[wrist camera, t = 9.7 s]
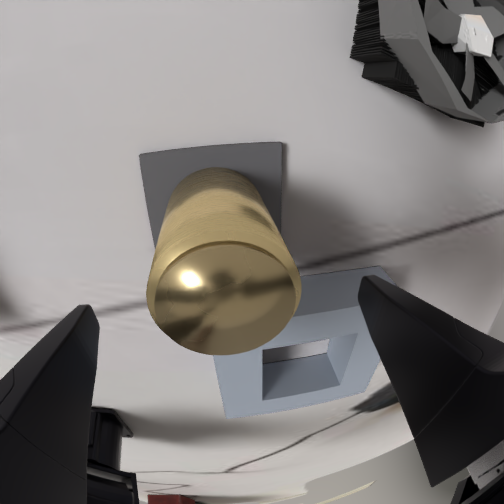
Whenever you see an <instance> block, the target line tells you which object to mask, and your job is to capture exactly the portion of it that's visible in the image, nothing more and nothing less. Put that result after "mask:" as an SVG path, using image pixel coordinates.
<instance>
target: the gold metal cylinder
mask: <svg viewBox="0 0 504 504" xmlns="http://www.w3.org/2000/svg"><path fill="white" fill-rule="evenodd" d="M146 297H147V304H148V309H149V311H150V314H151V316H152V318H153V319H154V321H155V323H156V324H157V325H158V326H159V328H160V329H161V330H162V331H163V332H164V333H165V334H166V335H168V336H169V337H170V338H171V339H172V340H174V341H175V342H176V343H178V344H179V345H181V346H183V347H185V348H187V349H190V350H192V351H195V352H198V353H203V354H208V355H234V354H240V353H244V352H248V351H250V350H253V349H256V348H258V347H260V346H262V345H264V344H266V343H268V342H269V341H271V340H272V339H273V338H275V337H276V336H277V335H278V334H279V333H280V332H281V331H282V330H283V329H284V328H285V327H286V325H287V324H288V322H289V321H290V320H291V318H292V317H293V315H294V313H295V311H296V309H297V308H298V305H299V302H300V297H301V278H300V275H299V272H298V269H297V267H296V265H295V263H294V261H293V259H292V257H291V255H290V253H289V251H288V249H287V247H286V245H285V243H284V241H283V239H282V237H281V235H280V233H279V231H278V229H277V227H276V225H275V223H274V221H273V219H272V217H271V215H270V213H269V212H268V210H267V208H266V206H265V204H264V202H263V200H262V198H261V196H260V194H259V192H258V191H257V189H256V187H255V186H254V185H253V183H252V182H251V181H250V180H249V179H248V178H246V177H245V176H244V175H242V174H240V173H239V172H237V171H234V170H231V169H227V168H221V167H210V168H204V169H201V170H198V171H196V172H193V173H191V174H190V175H188V176H186V177H185V178H184V179H183V180H182V181H181V182H180V183H179V184H178V185H177V186H176V188H175V189H174V190H173V192H172V194H171V196H170V199H169V202H168V206H167V209H166V213H165V216H164V220H163V223H162V227H161V231H160V234H159V238H158V242H157V246H156V250H155V254H154V258H153V262H152V266H151V270H150V275H149V279H148V284H147V291H146Z"/></svg>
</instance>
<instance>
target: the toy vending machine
mask: <svg viewBox="0 0 504 504" xmlns="http://www.w3.org/2000/svg"><path fill="white" fill-rule="evenodd" d="M148 504H195V500H193V499H191V498H188V497H185V496H182V495H148Z"/></svg>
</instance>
